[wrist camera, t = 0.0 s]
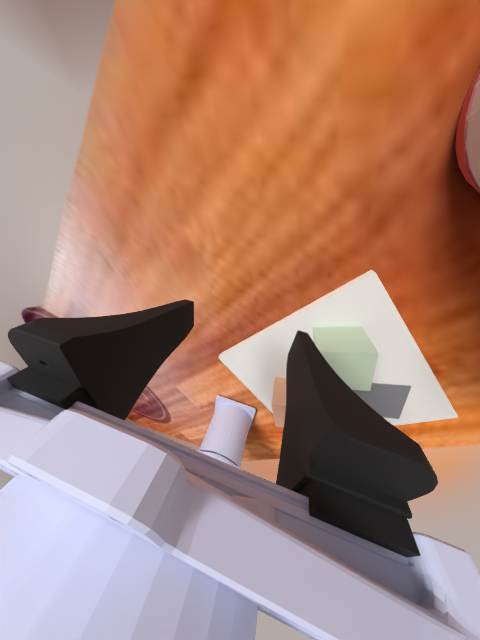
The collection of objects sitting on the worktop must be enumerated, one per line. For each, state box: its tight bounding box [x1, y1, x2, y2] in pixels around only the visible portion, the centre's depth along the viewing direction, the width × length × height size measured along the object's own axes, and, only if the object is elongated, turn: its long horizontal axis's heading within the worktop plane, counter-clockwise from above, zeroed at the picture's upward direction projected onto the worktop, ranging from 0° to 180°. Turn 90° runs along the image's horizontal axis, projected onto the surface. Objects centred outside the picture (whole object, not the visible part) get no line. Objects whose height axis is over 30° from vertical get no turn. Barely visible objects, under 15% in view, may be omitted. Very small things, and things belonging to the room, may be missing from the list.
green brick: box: [313, 326, 379, 391], centre depth 18 cm, size 5×5×4 cm
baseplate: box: [218, 270, 458, 426], centre depth 24 cm, size 22×22×1 cm
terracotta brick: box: [272, 377, 286, 427], centre depth 24 cm, size 5×5×4 cm
